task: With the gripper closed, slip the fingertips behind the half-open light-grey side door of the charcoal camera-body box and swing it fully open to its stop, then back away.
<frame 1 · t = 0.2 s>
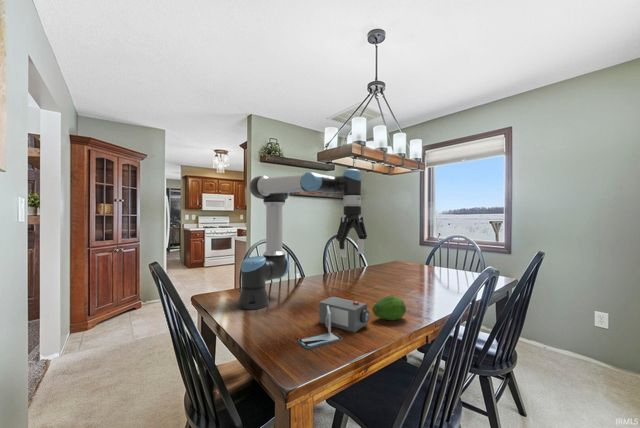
hand: (352, 255, 120), 28 cm above the table, fingers open, 13 cm apart
smartphone: (320, 342, 100), on the table
door: (327, 318, 109), point 4 cm above the table, hinge at 50.0°
camera body: (342, 323, 116), on the table
fruit: (388, 320, 120), on the table
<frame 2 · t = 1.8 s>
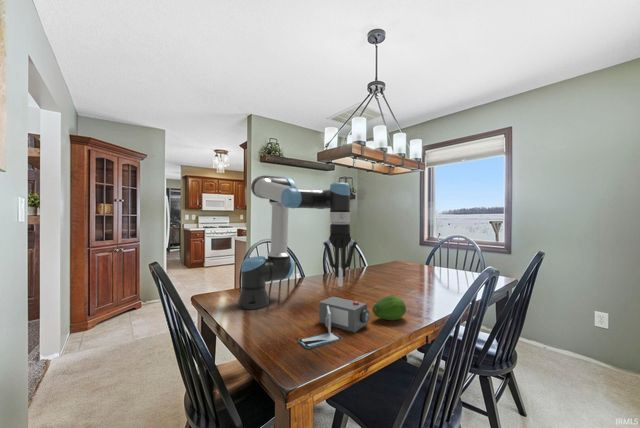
hand: (340, 285, 107), 18 cm above the table, fingers closed
nothing on the table moved.
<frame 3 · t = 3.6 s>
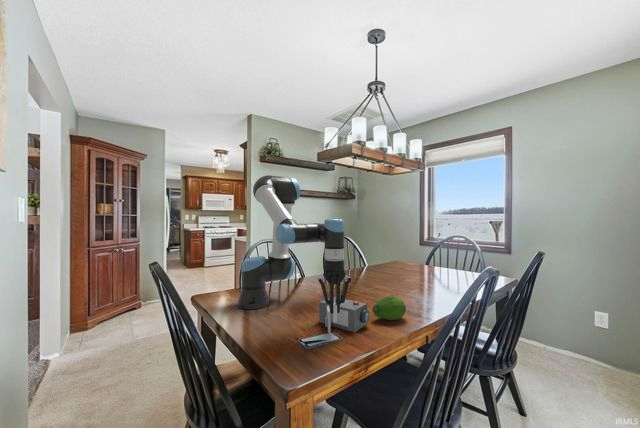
hand: (334, 321, 107), 4 cm above the table, fingers closed
door: (327, 318, 109), point 5 cm above the table, hinge at 50.8°, touching gripper
everything else where it was.
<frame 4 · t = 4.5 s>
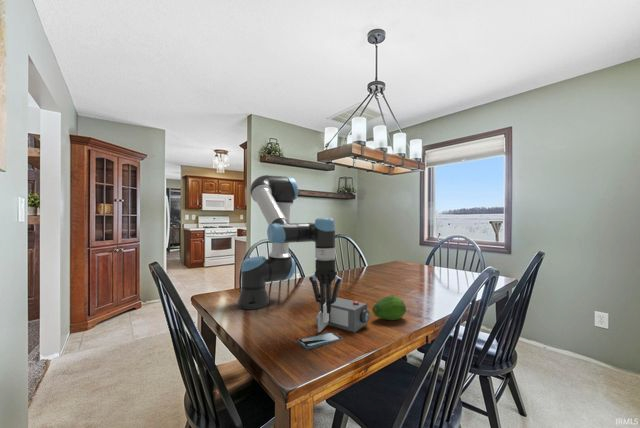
hand: (326, 321, 106), 5 cm above the table, fingers closed
door: (322, 318, 110), point 4 cm above the table, hinge at 75.2°, touching gripper
everything else where it was.
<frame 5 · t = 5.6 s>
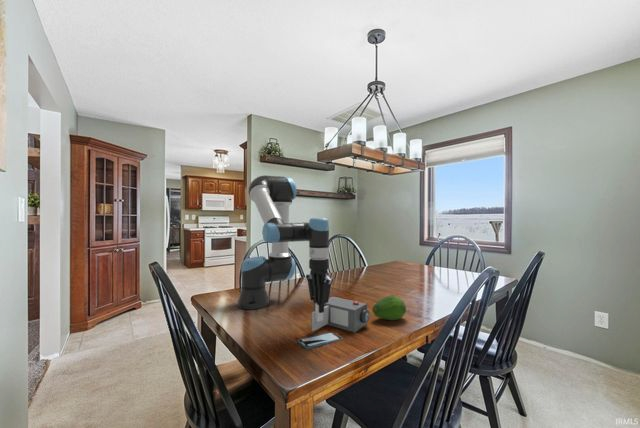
hand: (319, 320, 107), 5 cm above the table, fingers closed
door: (320, 317, 110), point 5 cm above the table, hinge at 91.5°, touching gripper
everything else where it was.
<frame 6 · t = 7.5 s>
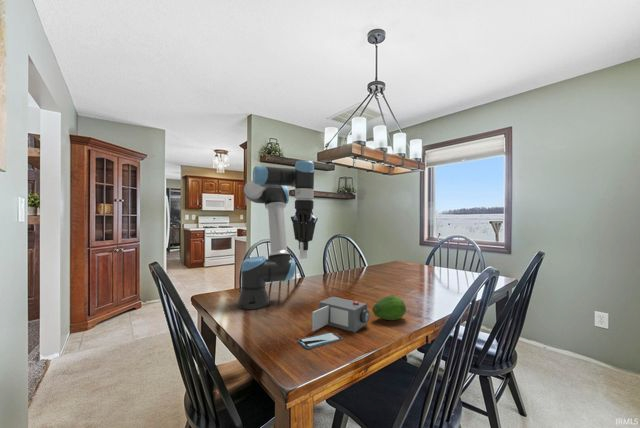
hand: (303, 258, 113), 27 cm above the table, fingers closed
door: (320, 317, 110), point 5 cm above the table, hinge at 90.7°
everything else where it was.
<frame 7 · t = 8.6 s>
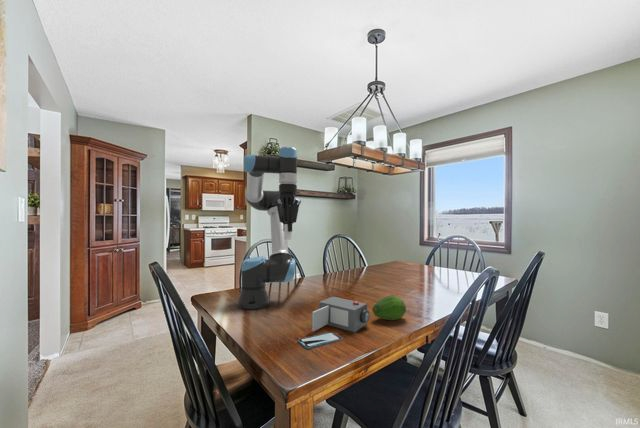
hand: (287, 239, 120), 34 cm above the table, fingers closed
nothing on the table moved.
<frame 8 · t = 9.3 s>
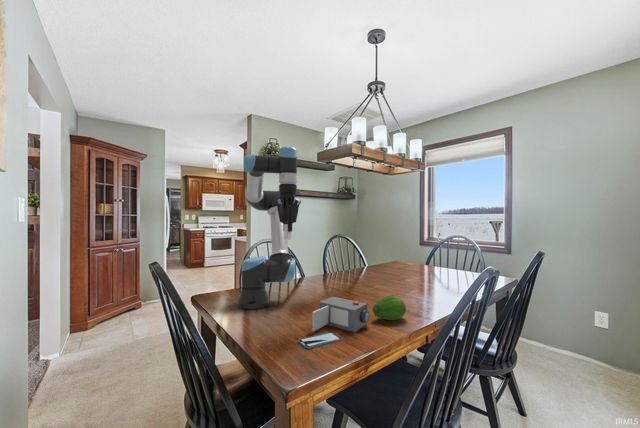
hand: (287, 239, 120), 34 cm above the table, fingers closed
nothing on the table moved.
at the end: door at +91° (first picture: +50°) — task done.
